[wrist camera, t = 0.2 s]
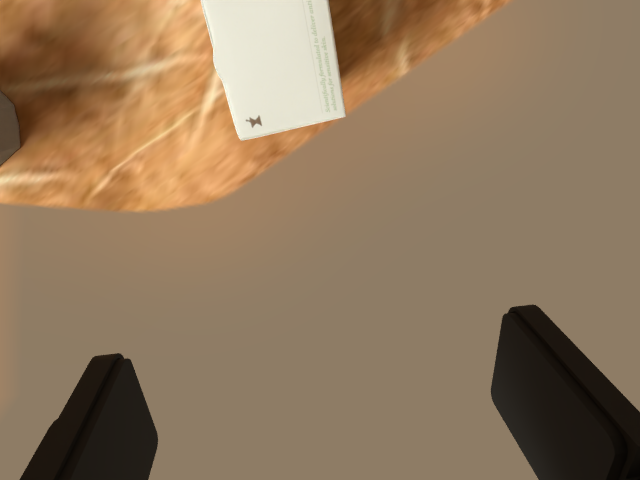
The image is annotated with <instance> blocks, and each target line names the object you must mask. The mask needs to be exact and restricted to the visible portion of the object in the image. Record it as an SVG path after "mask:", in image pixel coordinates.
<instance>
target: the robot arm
mask: <svg viewBox="0 0 640 480" xmlns="http://www.w3.org/2000/svg"><path fill="white" fill-rule="evenodd" d="M491 396H492V400H493V402H494V405H495V406H496V408H497V410H498V411H499V413H500V415H501V417H502V418H503V420H504V421H505V423H506V425H507V427H508V428H509V430H510V432H511V433H512V435H513V437H514V438H515V440H516V442H517V444H518V445H519V447H520V449H521V450H522V452H523V454H524V455H525V457H526V459H527V460H528V462H529V464H530V465H531V467H532V469H533V471H534V472H535V474H536V476H537V477H538V479H539V480H640V412H639V411H638V410H637V409H636V408H635V407H634V406H633V405H632V404H631V403H630V402H629V401H628V399H627V398H626V397H625V396H623V394H622V393H621V392H620V391H619V390H618V389H617V388H616V387H615V386H614V385H613V384H612V383H611V382H610V381H609V380H608V379H607V378H606V377H605V376H604V375H603V373H602V372H600V371H599V369H598V368H597V367H596V366H595V365H594V364H593V363H592V362H591V361H590V360H589V359H588V358H587V357H586V356H585V355H584V354H583V353H582V352H581V351H580V350H579V349H578V347H576V346H575V344H574V343H573V342H572V341H571V340H570V339H569V338H568V337H567V336H566V335H565V334H564V333H563V332H562V331H561V330H560V329H559V328H558V327H557V326H556V325H555V324H554V323H553V322H552V320H550V318H549V317H548V316H547V315H546V314H545V313H544V312H543V311H542V310H541V309H540V308H539V307H537V306H536V305H526V306H518V307H512V308H510V310H509V312H508V313H507V314H504V315H503V318H502V324H501V330H500V336H499V342H498V349H497V355H496V361H495V367H494V373H493V380H492V386H491ZM157 444H158V437H157V431H156V429H155V426H154V423H153V420H152V417H151V415H150V412H149V409H148V406H147V403H146V401H145V398H144V395H143V392H142V390H141V387H140V384H139V381H138V379H137V376H136V373H135V370H134V367H133V365H132V362H131V360H130V359H124V357H123V356H122V355H121V354H119V353H117V354H109V355H101V356H95V357H93V358H92V359H91V361H90V363H89V364H88V366H87V368H86V370H85V372H84V373H83V375H82V377H81V379H80V380H79V382H78V384H77V386H76V388H75V389H74V391H73V393H72V395H71V396H70V398H69V400H68V402H67V404H66V405H65V407H64V409H63V411H62V412H61V414H60V416H59V418H58V419H57V420H55V421H54V422H53V424H52V425H51V426H50V428H49V429H48V431H47V433H46V434H45V436H44V438H43V440H42V441H41V443H40V445H39V447H38V448H37V450H36V452H35V454H34V455H33V457H32V459H31V461H30V462H29V465H28V466H27V468H26V469H25V471H24V473H23V475H22V476H21V478H20V480H148V478H149V475H150V471H151V468H152V464H153V461H154V457H155V453H156V450H157Z"/></svg>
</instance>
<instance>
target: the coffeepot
mask: <svg viewBox="0 0 640 480" xmlns="http://www.w3.org/2000/svg"><path fill="white" fill-rule="evenodd" d="M19 148H20V130H19V123H18V119H17V115H16V113H15V107H14V104H13V103H12V102H11V101H10V100H9V99H8V98H7V97H6V96H5V95H4V94H3V93H2V91H1V90H0V165H1V164H2V163H3V162H5V161H6V160H7V159H8V158H9V157H10V156H11V155H12V154H13V153H14V152H15V151H17V150H18V149H19Z"/></svg>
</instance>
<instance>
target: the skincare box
mask: <svg viewBox="0 0 640 480" xmlns="http://www.w3.org/2000/svg"><path fill="white" fill-rule="evenodd" d="M201 4H202V8H203V12H204V16H205V20H206V23H207V27H208V31H209V35H210V39H211V43H212V46H213V61H214V66H215V69H216V71H217V73H218V75H219V77H220V78H221V80H222V82H223V86H224V89H225V93H226V96H227V100H228V104H229V107H230V111H231V114H232V118H233V121H234V125H235V128H236V132H237V134H238V136H239V138H240V139H241V140H242V141H243V140H248V139H252V138H257V137H261V136H266V135H270V134H274V133H279V132H283V131H287V130H292V129H296V128H300V127H304V126H308V125H313V124H317V123H321V122H325V121H330V120H334V119H338V118H342V117H345V116H346V114H345V106H344V99H343V92H342V86H341V79H340V72H339V65H338V58H337V52H336V45H335V39H334V32H333V26H332V19H331V13H330V6H329V0H201Z"/></svg>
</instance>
